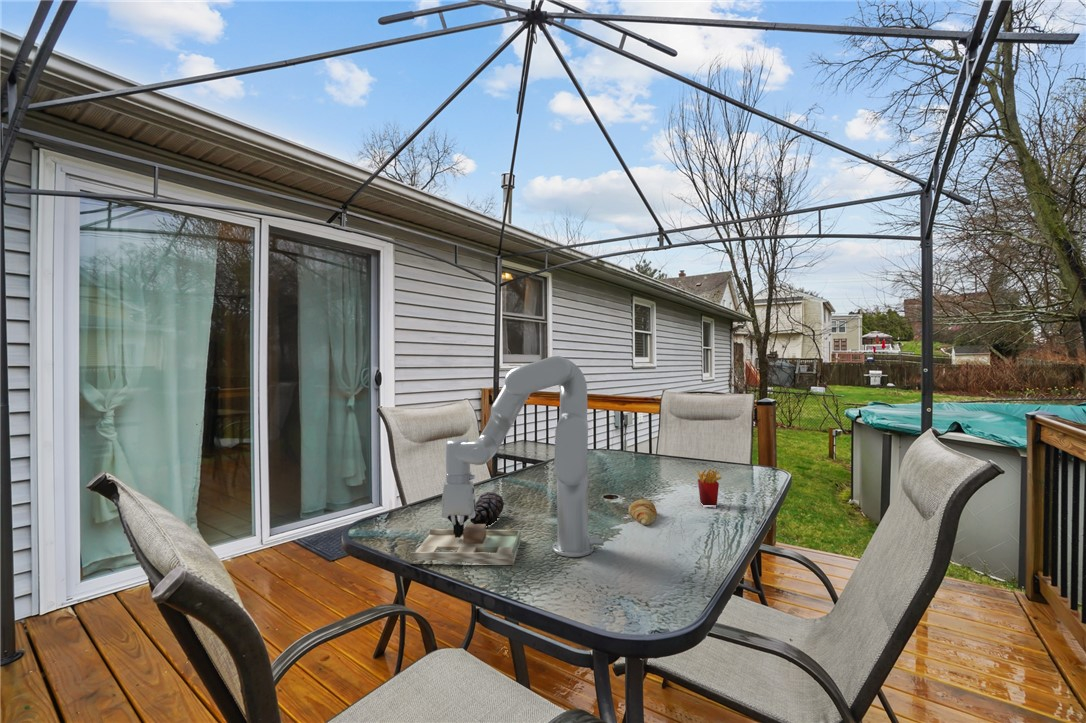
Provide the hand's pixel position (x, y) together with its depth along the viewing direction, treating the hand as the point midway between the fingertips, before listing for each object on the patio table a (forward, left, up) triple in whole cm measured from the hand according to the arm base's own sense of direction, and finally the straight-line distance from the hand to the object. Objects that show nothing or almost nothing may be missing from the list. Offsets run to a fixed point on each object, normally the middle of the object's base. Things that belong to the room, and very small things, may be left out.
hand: (458, 536), depth 153 cm
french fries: (-90, -42, -3) cm, 100 cm away
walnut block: (-5, 0, -1) cm, 5 cm away
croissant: (-62, -29, -4) cm, 68 cm away
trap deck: (-4, +5, -3) cm, 7 cm away
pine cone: (-5, -23, -4) cm, 23 cm away
